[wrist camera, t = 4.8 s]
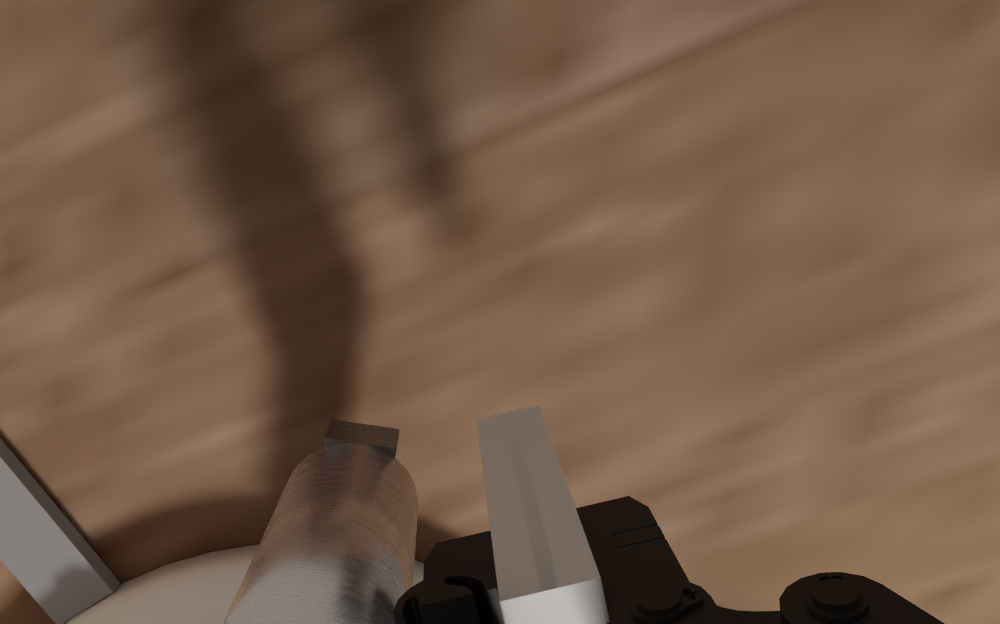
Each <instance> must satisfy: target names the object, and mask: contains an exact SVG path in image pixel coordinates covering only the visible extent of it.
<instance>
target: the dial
mask: <svg viewBox="0 0 1000 624" xmlns="http://www.w3.org/2000/svg"><path fill="white" fill-rule="evenodd" d="M398 436H399V429H394V428H387V427H380V426H373V425H366V424H359V423H352V422H346V421H339V420H332V419H331V422H330V424H329V427H328V429H327V432H326V434H325V437H324V442H323V448H321V449H319V450H317V451H315V452H313V453H312V454H310V455H309V456H307V457H306V458H305V459H304V460H302V462H301V463H300V464H299V465H298V466H297V467H296V468H295V470H294V471H293V472H292V474H291V476H290V478H289V480H288V482H287V484H286V486H285V488H284V491H283V493H282V495H281V497H280V500H279V502H278V504H277V506H276V508H275V511H274V513H273V515H272V517H271V519H270V522H269V524H268V526H267V528H266V531H265V533H264V535H263V537H262V539H261V542H260V544H259V546H258V548H257V550H256V553H255V555H254V557H253V559H252V561H251V564H250V566H249V568H248V570H247V573H246V575H245V577H244V579H243V581H242V584H241V586H240V588H239V590H238V592H237V595H236V597H235V599H234V601H233V604H232V606H231V608H230V610H229V612H228V615H227V617H226V619H225V621H224V623H223V624H396V623H395V619H394V616H393V610H394V607H395V605H396V603H397V600H398V599H399V598H400V597H401V596H402V595H403V594H404V593H405V592H406V591H407V590H408V589H409V588H411V587H412V586H413V575H414V561H415V546H416V532H417V517H418V496H417V491H416V488H415V485H414V482H413V480H412V478H411V476H410V474H409V473H408V471H407V470H406V468H405V467H404V466H403V465H402V464H401V463H400V462H399V461H398V460H397V459H396V458H395V455H396V449H397V442H398Z"/></svg>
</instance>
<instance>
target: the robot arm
mask: <svg viewBox="0 0 1000 624" xmlns="http://www.w3.org/2000/svg"><path fill="white" fill-rule="evenodd" d="M477 427H478V435H479V443H480V451H481V459H482V466H483V474H484V482H485V490H486V498H487V506H488V514H489V522H490V530H491V531H487V532H482V533H478V534H474V535H469V536H465V537H461V538H457V539H452V540H448V541H444V542H439V543H436V545H435V546H434V548H433V549H432V551H431V552H430V554H429V555H428V557H427V558H426V560H425V561H424V574H423V581H421V582H419V583H417V584H416V585H414V586H412V587H411V588H409V589H408V590H407V591H406V592H405V593H404V594H403V595H402V596H401V597H400V598H399V599H398V600H397V603H396V605H395V607H394V610H393V616H394V619H395V623H396V624H944V623H943V622H941V621H939V620H938V619H936V618H935V617H933V616H931V615H930V614H928V613H927V612H925V611H923V610H922V609H920V608H919V607H917V606H916V605H914V604H912V603H911V602H909V601H908V600H906V599H904V598H903V597H901V596H900V595H898V594H896V593H895V592H893V591H892V590H890V589H888V588H887V587H885V586H884V585H882V584H880V583H878V582H875V581H873V580H871V579H869V578H866V577H864V576H860V575H854V574H848V573H843V572H831V573H828V572H827V573H819V574H815V575H811V576H807V577H804V578H800V579H799V580H797V581H796V582H794V583H793V584H791V585H789V586H788V587H786V589H785V591H784V592H783V594H782V595H781V597H780V599H779V601H780V611H757V612H753V611H736V610H732V609H727V608H722V607H719V606H717V605H716V604H715V602H714V601H713V599H712V597H711V596H710V595H709V594H708V593H707V592H706V591H705V590H704V589H703V588H702V587H700V586H698V585H695V584H693V583H690V582H689V580H688V578H687V576H686V575H685V573H684V571H683V569H682V567H681V566H680V564H679V562H678V560H677V558H676V556H675V555H674V553H673V551H672V549H671V547H670V546H669V544H668V542H667V540H665V537H664V535H663V533H662V531H661V529H660V527H659V526H658V525H657V522H656V520H655V518H654V516H653V515H652V513H651V511H650V509H649V507H647V506H646V505H644V504H642V503H640V502H638V501H637V500H635V499H633V498H631V497H629V496H627V497H623V498H618V499H614V500H610V501H605V502H601V503H597V504H593V505H588V506H584V507H580V508H576V507H575V505H574V502H573V499H572V496H571V493H570V491H569V488H568V485H567V482H566V480H565V477H564V474H563V471H562V468H561V466H560V463H559V460H558V457H557V454H556V452H555V449H554V446H553V443H552V440H551V438H550V435H549V432H548V429H547V426H546V424H545V421H544V418H543V415H542V412H541V410H540V407H539V405H537V406H532V407H528V408H524V409H519V410H515V411H511V412H506V413H502V414H498V415H493V416H489V417H485V418H480V419H477Z"/></svg>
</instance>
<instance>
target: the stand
mask: <svg viewBox="0 0 1000 624" xmlns="http://www.w3.org/2000/svg"><path fill="white" fill-rule="evenodd" d="M258 546H259V544H257V545H251V546H245V547H239V548H233V549H226V550H220V551H214V552H209V553H205V554H202V555H199V556H195V557H192V558H188V559H185V560H181V561H178V562H174V563H171V564H168V565H164V566H162V567H159V568H157V569H155V570H152V571H150V572H148V573H145V574H143V575H141V576H138V577H136V578H134V579H131V580H129V581H127V582H124V583H122V584H120V582H119V580H118V579H117V578H116V577H115V576H114V574H113V573H112V572H111V571H110V570H109V568H108V567H107V566H106V565H105V564H104V562H103V561H102V560H101V559H100V557H99V556H98V555H97V554H96V553H95V551H94V550H93V549H92V548H91V547H90V545H89V544H88V543H87V542H86V541H85V539H84V538H83V537H82V536H81V535H80V533H79V532H78V531H77V530H76V528H75V527H74V526H73V525H72V524H71V522H70V521H69V520H68V519H67V518H66V516H65V515H64V514H63V513H62V512H61V510H60V509H59V508H58V507H57V506H56V504H55V503H54V502H53V501H52V499H51V498H50V497H49V496H48V495H47V493H46V492H45V491H44V490H43V489H42V487H41V486H40V485H39V484H38V483H37V481H36V480H35V479H34V478H33V477H32V475H31V474H30V473H29V472H28V470H27V469H26V468H25V467H24V466H23V464H22V463H21V462H20V461H19V460H18V458H17V457H16V456H15V455H14V454H13V452H12V451H11V450H10V449H9V448H8V446H7V445H6V444H5V443H4V441H3V440H2V439H1V438H0V560H1V561H2V562H3V563H4V564H5V566H6V567H7V568H8V569H9V570H10V571H11V573H12V574H13V575H14V576H15V577H16V578H17V579H18V581H19V582H20V583H21V584H22V585H23V586H24V588H25V589H26V590H27V591H28V592H29V593H30V595H31V596H32V597H33V598H34V599H35V600H36V602H37V603H38V604H39V605H40V606H41V607H42V609H43V610H44V611H45V612H46V613H47V614H48V615H49V617H50V618H51V619H52V620H53V621H54V622H55V624H223V623H224V621H225V619H226V617H227V615H228V612H229V610H230V608H231V606H232V604H233V601H234V599H235V597H236V595H237V592H238V590H239V588H240V586H241V584H242V581H243V579H244V577H245V575H246V573H247V570H248V568H249V566H250V564H251V561H252V559H253V557H254V555H255V553H256V550H257V548H258ZM423 574H424V563H422V562H419V561H416V560H415V561H414V575H413V586H414V585H416V584H417V583H419V582H421V581H423ZM119 584H120V585H119Z"/></svg>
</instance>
